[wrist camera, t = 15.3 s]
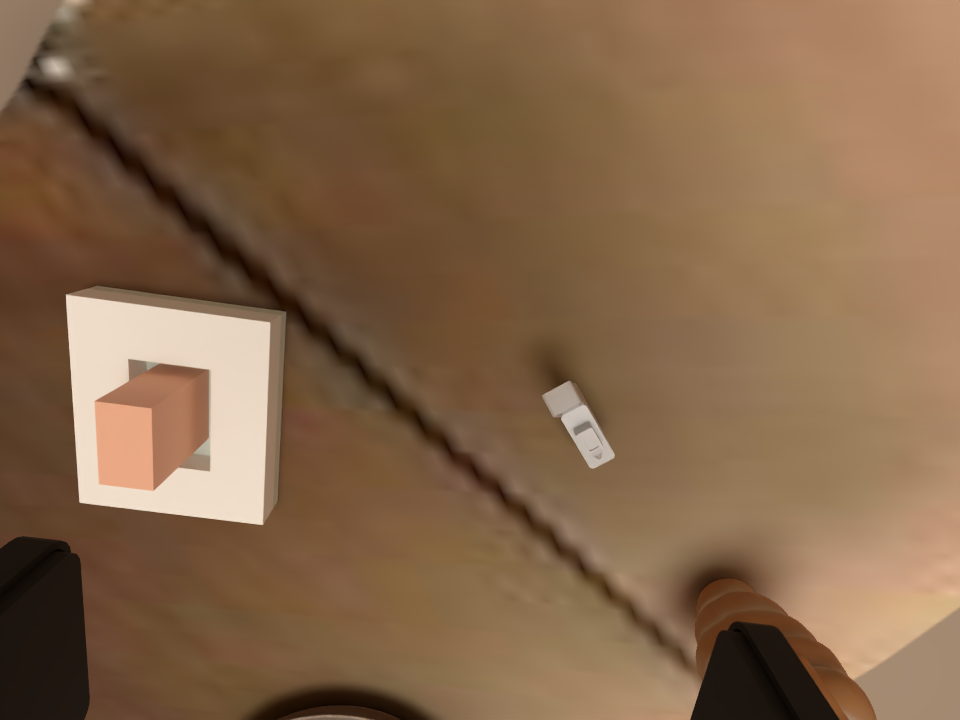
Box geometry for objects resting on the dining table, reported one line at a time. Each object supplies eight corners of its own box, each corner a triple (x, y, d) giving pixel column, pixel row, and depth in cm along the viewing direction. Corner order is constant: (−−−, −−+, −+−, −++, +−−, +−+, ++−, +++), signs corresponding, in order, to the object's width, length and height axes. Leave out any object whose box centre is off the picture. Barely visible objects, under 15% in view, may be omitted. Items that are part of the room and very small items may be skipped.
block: (162, 362, 38) (94, 401, 31) (209, 368, 38) (151, 408, 31) (163, 432, 39) (99, 484, 33) (208, 438, 40) (153, 491, 33)
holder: (97, 285, 37) (65, 294, 35) (286, 311, 38) (270, 322, 35) (107, 480, 42) (79, 502, 39) (277, 501, 42) (262, 524, 39)
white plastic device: (602, 428, 40) (630, 486, 33) (579, 440, 41) (603, 501, 33) (552, 343, 39) (570, 383, 31) (529, 356, 39) (542, 399, 31)
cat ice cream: (731, 522, 43) (901, 754, 25) (793, 587, 44) (993, 847, 27) (636, 593, 44) (736, 854, 27) (700, 653, 46) (832, 935, 29)
